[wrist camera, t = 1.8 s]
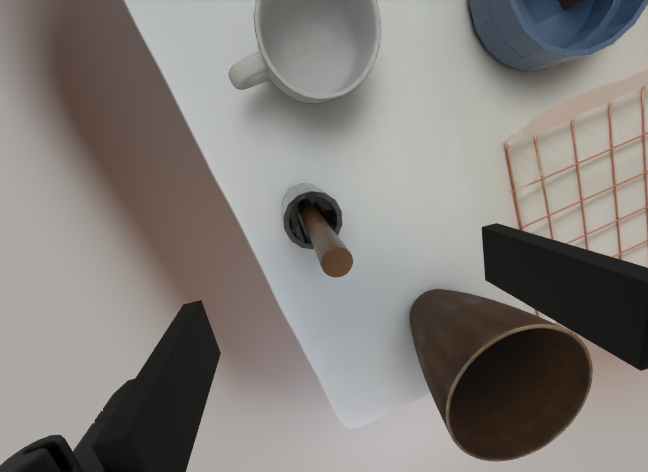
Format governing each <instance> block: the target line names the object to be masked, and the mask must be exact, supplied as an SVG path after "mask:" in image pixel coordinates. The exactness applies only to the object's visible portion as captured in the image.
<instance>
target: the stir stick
mask: <svg viewBox="0 0 648 472" xmlns="http://www.w3.org/2000/svg"><path fill="white" fill-rule="evenodd" d="M298 210H299V213H300V215H301V218H302V220H303V223H304V225H305V227H306V230H307V232H308V235H309V237H310V240H311V242H312V245H313V247H314V250H315V252H316V255H317V257H318V259H319V262H320V264H321V267H322V269H323V271H324V272H325V273H326V274H327V275H328V276H331V277H341V276H344V275H345V274H347V273H348V272H349V271H350V269H351V267H352V264H353V258H352V255H351V253H350V252H349V251H348V249H347V248H346V247H345V245H344V244H343V243H342V241H341V240H340V239H339V238H338V236H337V235H336V234H335V232H334V231H333V230H332V228H331V227H330V226H329V225H328V223H327V222H326V221H325V219H324V218H323V217H322V215H321V214H320V213H319V212H318V210H317V209H316V208H315V206H314V205H313V204H312V202H311V201H310V200H308V199H303V200H301V201H300V202H299V203H298Z"/></svg>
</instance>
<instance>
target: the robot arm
mask: <svg viewBox="0 0 648 472" xmlns="http://www.w3.org/2000/svg"><path fill="white" fill-rule="evenodd" d="M482 239H483V253H484V267H485V280H486V281H488V282H490V283H491V284H493V285H495V286H496V287H498V288H500V289H502V290H503V291H505V292H507V293H508V294H510V295H512V296H514V297H515V298H517V299H519V300H520V301H522V302H524V303H526V304H527V305H529V306H531V307H532V308H534V309H536V310H538V311H539V312H541V313H543V314H544V315H546V316H548V317H550V318H551V319H553V320H555V321H556V322H558V323H560V324H562V325H563V326H565V327H567V328H568V329H570V330H572V331H574V332H575V333H577V334H579V335H581V336H582V337H584V338H586V339H587V340H589V341H591V342H593V343H594V344H596V345H598V346H599V347H601V348H603V349H604V350H606V351H608V352H610V353H611V354H613V355H615V356H617V357H618V358H620V359H621V360H623V361H625V362H627V363H628V364H630V365H632V366H633V367H635V368H637V369H639V370H640V371H641V370H645V369H648V268H647V267H643V266H640V265H637V264H633V263H630V262H626V261H623V260H620V259H616V258H613V257H609V256H606V255H603V254H599V253H596V252H592V251H589V250H586V249H582V248H579V247H575V246H572V245H569V244H565V243H562V242H558V241H555V240H552V239H548V238H545V237H542V236H538V235H535V234H531V233H528V232H525V231H521V230H518V229H514V228H511V227H508V226H504V225H501V224H497V223H496V224H492V225H488V226H484V227H482ZM220 354H221V353H220V350H219V347H218V345H217V342H216V339H215V337H214V334H213V331H212V328H211V326H210V323H209V320H208V317H207V315H206V312H205V309H204V306H203V304H202V301H201V300H200V301H196V302H192V303H188V304H184V305H183V306H182V307H181V309H180V311H179V312H178V314H177V315H176V317H175V318H174V320H173V321H172V323H171V324H170V326H169V328H168V329H167V331H166V332H165V334H164V335H163V337H162V338H161V340H160V341H159V343H158V344H157V346H156V347H155V349H154V351H153V352H152V354H151V355H150V357H149V358H148V360H147V361H146V363H145V365H144V366H143V368H142V369H141V371H140V372H139V374H138V376H137V377H136V378H135V379H132V380H129V381H127V382H126V383H125V384H124V385H123V386H122V387H120V388H119V389H118V390H117V391H116V392H115V393H114V394H113V395H112V397H111V398H110V399H109V401H108V402H107V404H106V405H105V407H104V408H103V411H101V412H100V414H99V415H98V417H97V418H96V419H95V423H93V424H92V425H91V427H90V428H89V429H88V431H87V432H86V434H85V435H84V436H83V438H82V439H81V441H80V442H79V444H78V445H77V447H76V448H75V449H74V451H73V452H72V450H71V448H70V446H69V445H68V443H67V441H66V440H65V439H64V438H63V437H62V436H61V435H51V436H48V437H45V438H43V439H40V440H37V441H35V442H33V443H32V444H30V445H28V446H27V447H24V448H23V449H21V450H20V451H18V452H17V453H15V454H14V455H13V456H11V457H10V458H8V459H7V460H6V461H5V462H4V463H3V464H2V465H0V472H186V469H187V465H188V462H189V458H190V455H191V452H192V449H193V445H194V442H195V438H196V435H197V432H198V428H199V425H200V422H201V418H202V415H203V411H204V408H205V405H206V401H207V397H208V394H209V391H210V387H211V384H212V381H213V377H214V374H215V371H216V367H217V364H218V361H219V357H220Z"/></svg>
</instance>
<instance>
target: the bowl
mask: <svg viewBox="0 0 648 472" xmlns="http://www.w3.org/2000/svg"><path fill="white" fill-rule="evenodd" d="M469 3H470V4H469V5H470V9H471V13H472V17H473V21H474V25H475V29H476V32H477V33H478V35H479V37H480V39H481V40H482V42H483V44H484V45H485V47H486V49H487V50H488V51H489V52H490V53H491V54H492V55H493V56H495V57H496V58H497V59H498V60H499V61H501V62H502V63H503V64H504V65H507V66H510V67H513V68H516V69H519V70H522V71H533V70H544V69H548V68H551V67H554V66H557V65H560V64H563V63H566V62H569V61H572V60H575V59H578V58H582V57H585V56H588V55H590V54H592V53H595V52H597V51H599V50H601V49H603V48H605V47H607V46H609V45H611V44H613V43H614V42H615V41H616V40H617V39H619V38H620V37H621V36H622V35H623V34H624V33H625V32H626V31H627V30H628V29H630V28H631V27H632V26H633V25H634V24H635V22H636V21H637V19H638V18H639V16H640V15H641V13H642V12H643V10H644V9H645V7H646V6H647V4H648V0H584V1H582V2H580V3H578V4H576V5H574V6H572V7H570V8H568V9H566V10H564V11H563V9H562V6H561V4H560V2H559V0H469Z"/></svg>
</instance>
